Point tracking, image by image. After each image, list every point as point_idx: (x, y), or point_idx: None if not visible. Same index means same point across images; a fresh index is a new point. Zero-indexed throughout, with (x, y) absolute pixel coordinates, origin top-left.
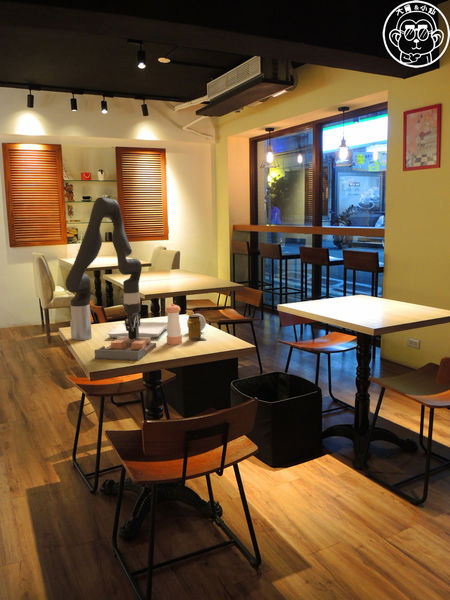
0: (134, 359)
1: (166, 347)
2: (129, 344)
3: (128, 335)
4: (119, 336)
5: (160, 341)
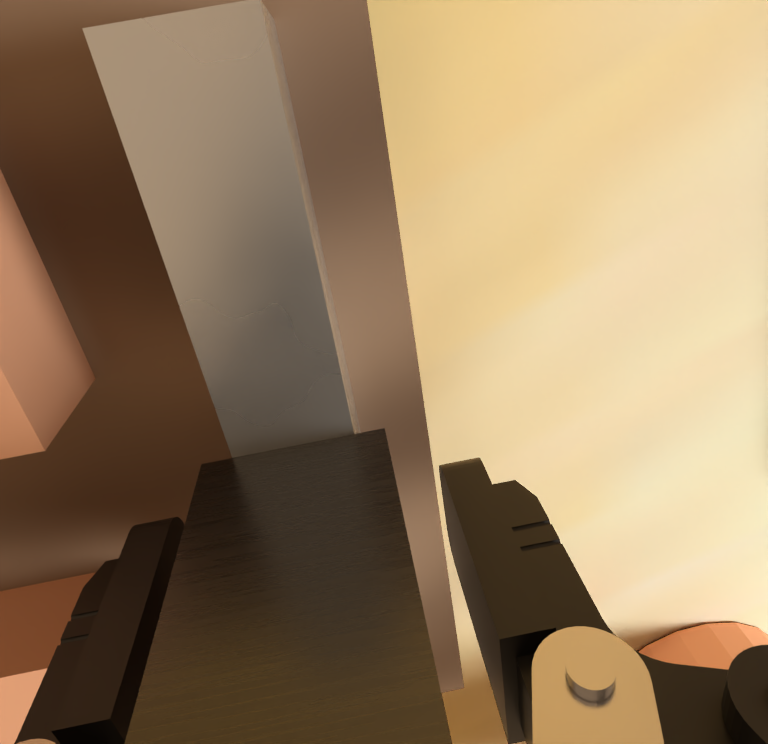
0: None
1: (461, 717)
2: (207, 402)
3: (187, 516)
4: (245, 54)
5: (759, 533)
